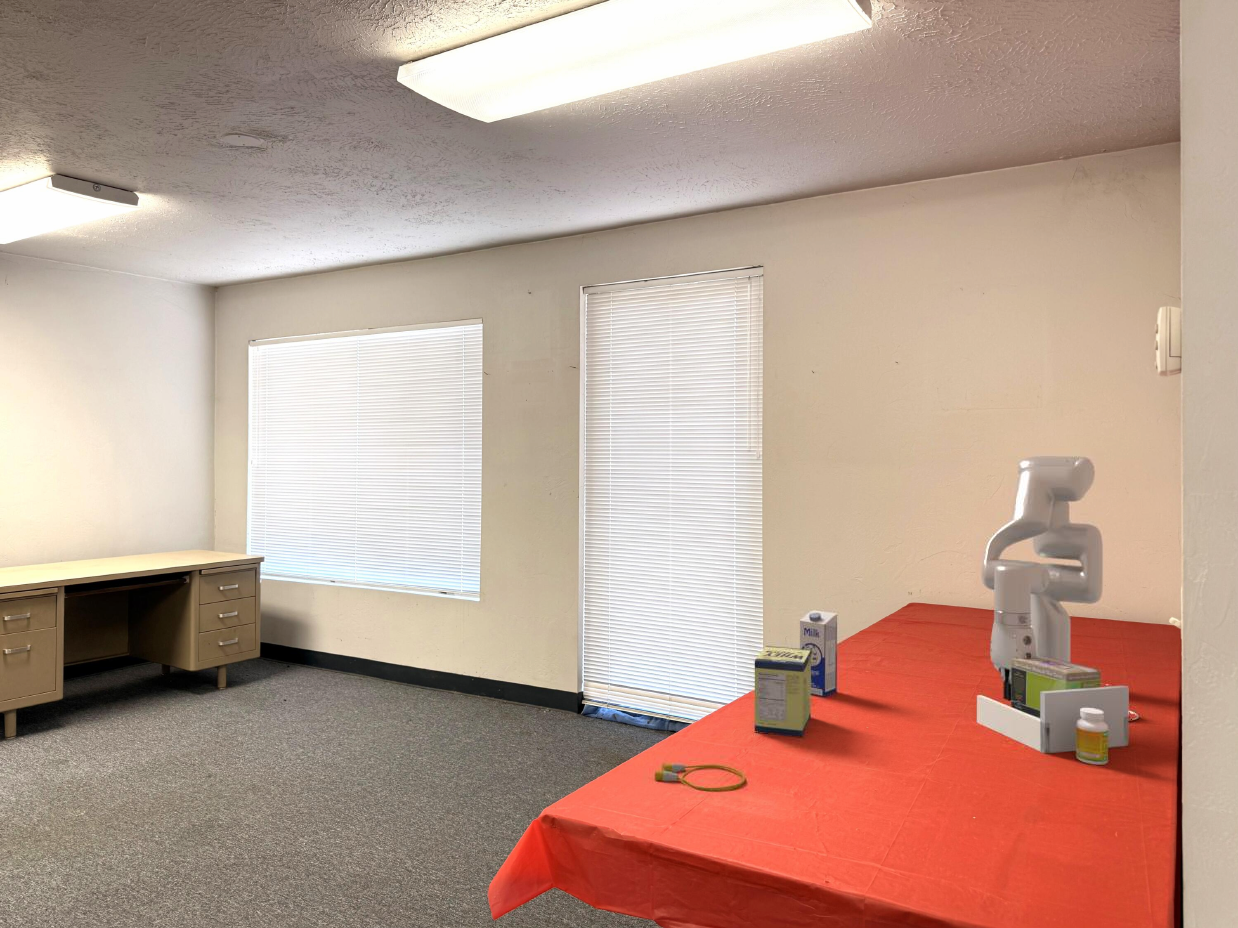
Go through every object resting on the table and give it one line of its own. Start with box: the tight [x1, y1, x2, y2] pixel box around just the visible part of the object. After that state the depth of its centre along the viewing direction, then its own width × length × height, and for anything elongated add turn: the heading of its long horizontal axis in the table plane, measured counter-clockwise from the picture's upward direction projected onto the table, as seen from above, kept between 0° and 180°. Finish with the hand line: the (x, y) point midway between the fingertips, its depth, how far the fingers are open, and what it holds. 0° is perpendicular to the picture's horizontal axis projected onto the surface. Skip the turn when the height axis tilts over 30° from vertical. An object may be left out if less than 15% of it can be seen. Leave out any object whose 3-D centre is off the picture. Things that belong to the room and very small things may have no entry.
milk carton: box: [798, 609, 838, 698], centre depth 207 cm, size 7×7×20 cm
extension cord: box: [654, 762, 746, 792], centre depth 150 cm, size 12×16×2 cm
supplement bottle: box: [1075, 708, 1109, 766], centre depth 160 cm, size 5×5×10 cm
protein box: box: [754, 645, 812, 738], centre depth 181 cm, size 10×16×16 cm
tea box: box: [1010, 656, 1102, 719], centre depth 177 cm, size 15×10×15 cm, turn 19°
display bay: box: [976, 685, 1130, 754], centre depth 176 cm, size 20×20×12 cm
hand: (1011, 699), depth 187 cm, fingers closed
